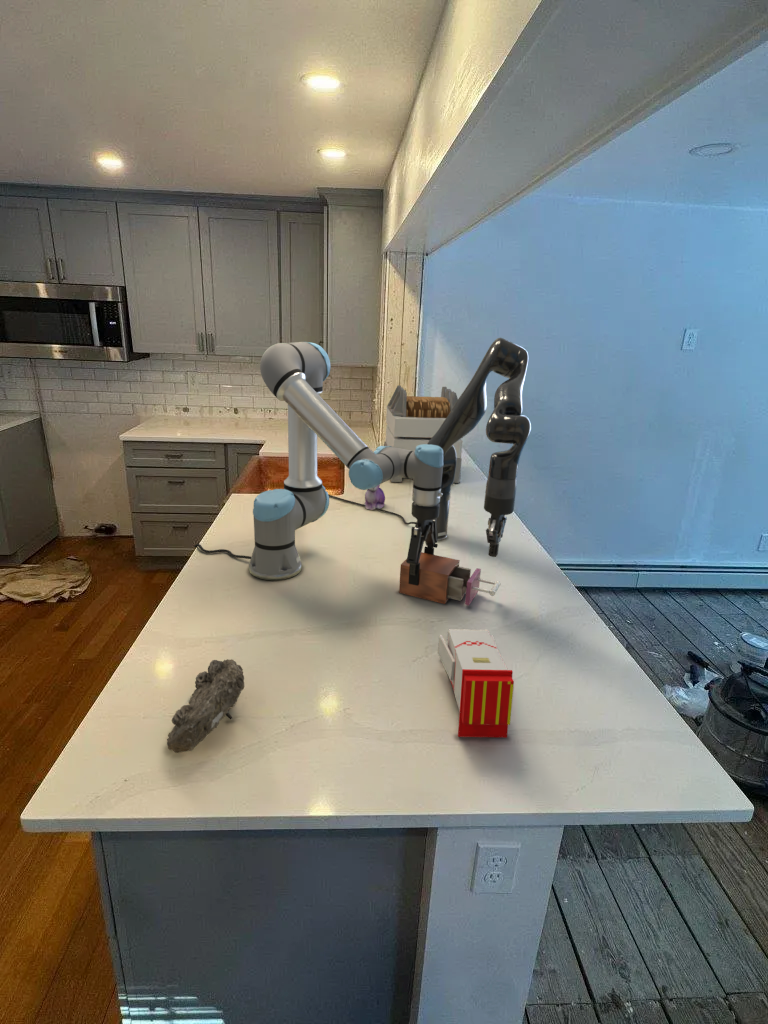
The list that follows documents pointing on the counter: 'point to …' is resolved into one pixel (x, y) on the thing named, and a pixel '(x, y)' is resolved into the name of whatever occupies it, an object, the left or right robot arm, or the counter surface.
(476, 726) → the toy
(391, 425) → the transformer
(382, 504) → the figurine
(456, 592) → the drawer
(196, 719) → the fossil
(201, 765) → the counter surface
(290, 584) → the counter surface
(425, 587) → the cabinet
